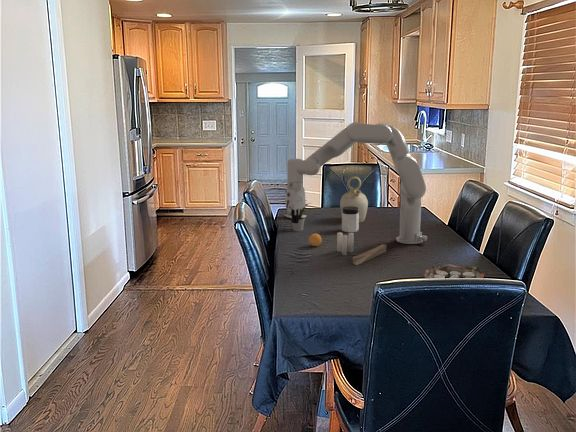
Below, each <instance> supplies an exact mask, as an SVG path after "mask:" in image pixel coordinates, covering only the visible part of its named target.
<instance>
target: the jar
mask: <svg viewBox="0 0 576 432" xmlns="http://www.w3.org/2000/svg"><path fill="white" fill-rule="evenodd" d="M359 223H360V222H359V212H358V207H353V206H348V207H343V213H342V215H341V232H346V233H356V232H358V231H359V229H360V228H359V227H360V226H359V225H360V224H359Z"/></svg>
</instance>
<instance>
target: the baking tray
mask: <svg viewBox="0 0 576 432" xmlns="http://www.w3.org/2000/svg"><path fill="white" fill-rule="evenodd" d="M447 272H448V273H450V275H448V273H447ZM433 274H436V275H433ZM461 274H462V276H461ZM423 276H424V278H425V279H426V278H445V276H448V277H449V276H451V277H449V278H459V277H461V278H462V277H465V278H483V279H484V276H485V272H484V270H483V269H481V268H480V267H478V266H474V265H472V266H470V265H456V264H444V265H443V264H442V266H438V267H437V268H436V266H435V265H432V266H431V268H429V269H426V270H425V271H424V275H423ZM445 279H446V278H445Z"/></svg>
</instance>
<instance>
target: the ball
mask: <svg viewBox="0 0 576 432" xmlns="http://www.w3.org/2000/svg"><path fill="white" fill-rule="evenodd" d="M322 241H323V240H322V237H321V235H320V234H318V233H312V234H311V235H309V238H308V242H309V243H308V244H310V245H311V246H312V247H319V246H320V245H321V243H322Z"/></svg>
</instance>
